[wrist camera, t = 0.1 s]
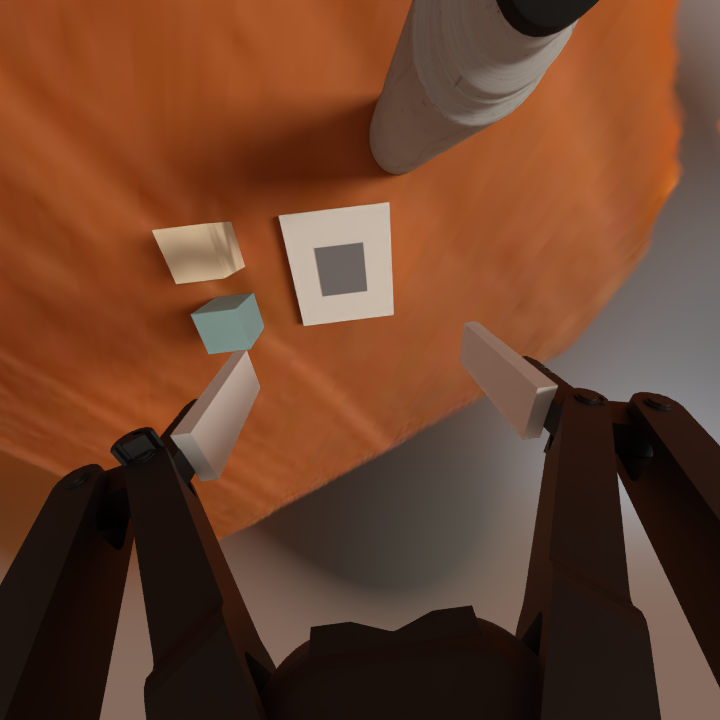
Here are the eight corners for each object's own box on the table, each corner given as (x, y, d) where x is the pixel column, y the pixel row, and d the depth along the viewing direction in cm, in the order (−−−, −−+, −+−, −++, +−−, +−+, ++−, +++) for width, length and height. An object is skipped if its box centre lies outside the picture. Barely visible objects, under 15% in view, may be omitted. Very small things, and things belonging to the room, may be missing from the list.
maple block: (188, 226, 36) (151, 230, 29) (230, 221, 36) (204, 223, 29) (205, 271, 39) (176, 284, 32) (245, 266, 39) (224, 278, 32)
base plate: (280, 215, 36) (278, 215, 34) (387, 202, 36) (389, 202, 34) (305, 322, 44) (303, 326, 42) (392, 311, 44) (393, 314, 42)
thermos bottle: (444, 127, 32) (763, -131, 8) (403, 189, 35) (545, 137, 11) (396, 72, 29) (657, -569, 5) (356, 144, 32) (406, -56, 8)
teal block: (215, 297, 41) (190, 314, 34) (253, 292, 41) (235, 309, 34) (229, 331, 44) (208, 354, 37) (264, 327, 44) (250, 348, 37)
